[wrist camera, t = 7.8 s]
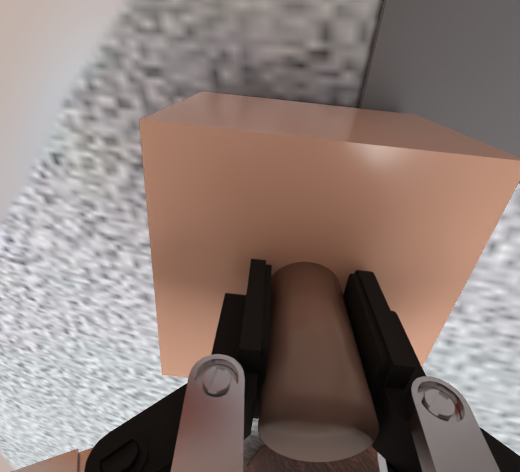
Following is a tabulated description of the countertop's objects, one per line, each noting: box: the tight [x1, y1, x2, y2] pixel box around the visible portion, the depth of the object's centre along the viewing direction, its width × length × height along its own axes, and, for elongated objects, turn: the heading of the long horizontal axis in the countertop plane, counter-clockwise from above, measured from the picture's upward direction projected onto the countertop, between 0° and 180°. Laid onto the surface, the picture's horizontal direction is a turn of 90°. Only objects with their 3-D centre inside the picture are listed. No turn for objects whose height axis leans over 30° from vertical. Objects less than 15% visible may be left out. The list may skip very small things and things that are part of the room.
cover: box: [139, 91, 520, 462], centre depth 13 cm, size 11×11×14 cm
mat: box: [358, 0, 520, 183], centre depth 16 cm, size 14×14×1 cm
